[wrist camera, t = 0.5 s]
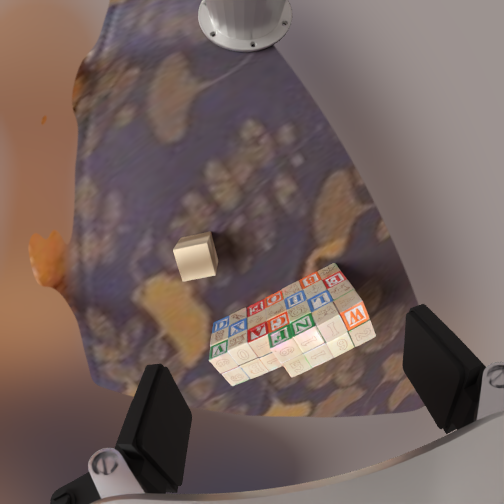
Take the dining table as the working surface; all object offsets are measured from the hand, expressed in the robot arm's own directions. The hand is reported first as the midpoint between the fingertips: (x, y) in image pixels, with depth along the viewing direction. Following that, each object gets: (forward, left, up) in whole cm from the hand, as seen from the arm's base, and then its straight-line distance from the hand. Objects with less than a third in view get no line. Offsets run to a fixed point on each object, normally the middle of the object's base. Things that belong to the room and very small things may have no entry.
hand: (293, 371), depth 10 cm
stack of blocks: (+17, +1, -32) cm, 36 cm away
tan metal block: (+5, -9, -32) cm, 34 cm away
